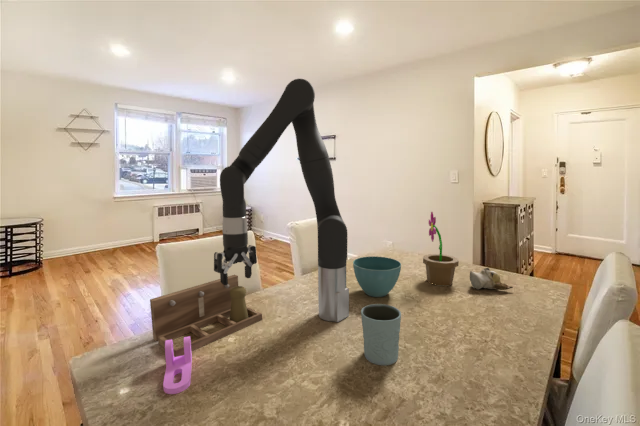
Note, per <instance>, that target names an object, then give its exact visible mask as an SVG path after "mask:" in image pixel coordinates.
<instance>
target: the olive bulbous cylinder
mask: <svg viewBox="0 0 640 426" xmlns="http://www.w3.org/2000/svg"><path fill="white" fill-rule="evenodd" d="M246 289H247V288H246V287H244V286H241V285H238V286H236V287H233V288H231V290H230V297H231V298H232V299H231V310H230V317H229V319H230V320H232V321H234V322H236V323H237V322H240V321H242V320H245V319H247V318H249V315H248V313H247V307H248V306H247V303H246V298H245V297H246V295H247V290H246Z"/></svg>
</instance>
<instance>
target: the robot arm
mask: <svg viewBox="0 0 640 426" xmlns="http://www.w3.org/2000/svg"><path fill="white" fill-rule="evenodd" d="M315 96H316V94H315V89H314V86H313V85H312V84H311V82H310V81H308V80H307V79H305V78H304V79H303V78H295V79H292V80H291V81H289V83H288V84H287V85H286V86H285V88H284V91H283V93H282V94H281V96H280V98H279V100H278V101H277V102H276V104H275V106H274V108H273V109H272V111H271V112H270V113H269V114H268V116H267V118H266V119H265V120H264V121H263V123H262V124H261V125H260V126H259V127H258V128H257V130H256V131H255V132H254V133H253V134H252V135H251V136H250V137H249V139H248V140H247V141H246V143H245V144H244V145H243V147H241V149H240V151H239V153H238V156H237V157H236V158H235V159H234V160H233V162H231V164H230V165H228V166H225V167H224V168H223V169H222V170H221V172H220V174H219V188H220V193H221V198H222V225H221V226H222V228H221V229H222V230H221V231H222V246H223V251H222V252H218V251H216V252H214V253H213V271H214V272H215V273H218V274H219V275H220V278H219V279H221V283H222V284H223V285H228V271H229V269H230V268H231V267H232V266H233V265H235V264H237V263H243V264H244V265H245V266H244V278H246V279H250V278H251V277H252V267H253V265H254V264H255V265H256V264H257V262H258V260H257V246H255V245H252V244H249V239H248V238H249V237H248V234H249V233H248V220H247V203H246V200H245V184H246V183H247V181H248V180H249V178H251V176H252V174H254V171H255V170H256V168H258V167H259V165H261V163H262V162H263V161H264V160H265V159H266V158H267V156H268V155H269V154H270V152H271V151H272V149H273V148H274V147H275V146H276V144H277V143H278V141H279V139H280V138H281V136H282V135H283V134H284V132H285V131H286V129H287V128H288V127H289V126H290V124H292V127H293V130H294V134H295V139H296V148H297V149H296V150H297V154H298V159H299V165H300V167H301V171H302V176H303V179H304V181H305V185H306V188H307V190H308V192H309V195H310V197H311V200H312V202H313V205H314V211H315V217H316V224H317V226H316V227H317V281H318V282H317V283H318V284H317V289H318V290H317V292H318V293H317V294H318V295H317V296H318V297H317V298H318V302H317V303H318V317H319V318H320V319H322V320H324V321H326V322H336V323H339V322H341V321H343V320H344V319H346V318H347V317H349V316H350V288H348V287H347V261H348V229H347V228H348V227H347V225H346V223H345V221H344V220H343V218H342V215H341V213H340V212H341V211H340V210H339V206H338V203H337V199H336V194H335V193H336V192H335V181H334V174H333V169H332V165H331V161H330V156H329V153H328V150H327V146H326V145H325V142H324V140H323V138H322V135H321V134H320V131H319V127H318V125H317V120H316V115H315V108H314V107H315V105H314V102H315V98H316V97H315ZM247 255H248V256H247Z"/></svg>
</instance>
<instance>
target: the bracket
mask: <svg viewBox="0 0 640 426" xmlns="http://www.w3.org/2000/svg"><path fill="white" fill-rule="evenodd" d="M191 342H192V340H191V335H189V336H184V337H183V345H184V355H182V356H178V357H175V356H174V352H173V344H174V341H173V340H172V339H171V340H166V341H165V348H164V354H165V355H164V356H165V364H166V365H165V367H166V368H165V371H164V372H165V373H164V377H163V384H162V386H163V387H162V388H163V392H164V393H165V394H168V395H175V394H176V395H177V394H180V393H181V392H183V391H186V390H187V389H188V388H189V387H190V385H191V380H192V363H193V355H192V353H193V351H191ZM178 374H181V378H180V379H181V380H179V382H174V380H175V376H176V375H178Z"/></svg>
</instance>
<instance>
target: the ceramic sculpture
mask: <svg viewBox="0 0 640 426" xmlns="http://www.w3.org/2000/svg"><path fill="white" fill-rule="evenodd" d="M469 281H470V284H471V287H472V288H473V289H475V288H476V289H475V290H480V289H482V288H484V289H486V288H488V289H487V290H495V289H496V290H499V291H507V290H511V289H513V288H514V287H513V286H511V285H507V283H503V282H501V277H500V274H498V272H496V271H494V270H491V269H490V268H489V267H486V268H482V269H481V270H480V271H479V272H475V271H472V270H470V271H469Z"/></svg>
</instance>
